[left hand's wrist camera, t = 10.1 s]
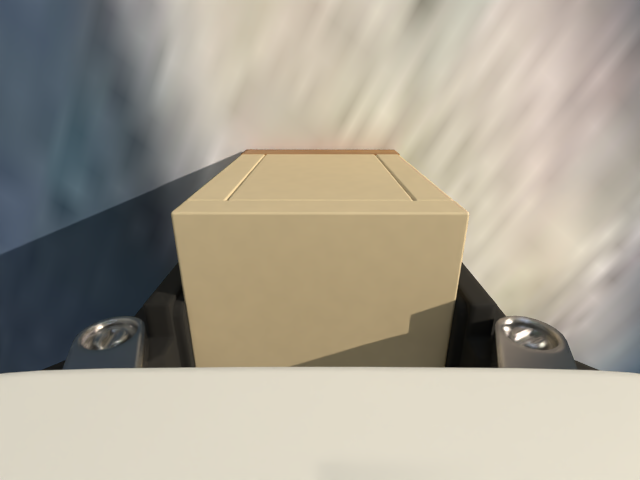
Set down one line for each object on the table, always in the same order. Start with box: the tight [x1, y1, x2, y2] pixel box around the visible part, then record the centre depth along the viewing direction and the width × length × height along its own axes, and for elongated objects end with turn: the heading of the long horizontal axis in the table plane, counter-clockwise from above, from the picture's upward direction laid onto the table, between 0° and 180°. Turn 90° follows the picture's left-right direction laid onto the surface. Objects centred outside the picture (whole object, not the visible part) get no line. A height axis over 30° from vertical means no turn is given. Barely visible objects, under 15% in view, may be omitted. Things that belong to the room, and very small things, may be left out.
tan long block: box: [171, 150, 469, 368], centre depth 15 cm, size 22×6×8 cm, turn 0°
